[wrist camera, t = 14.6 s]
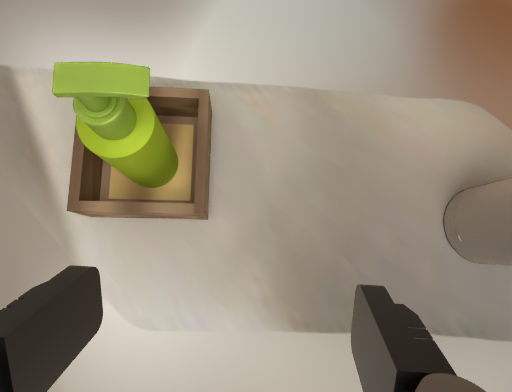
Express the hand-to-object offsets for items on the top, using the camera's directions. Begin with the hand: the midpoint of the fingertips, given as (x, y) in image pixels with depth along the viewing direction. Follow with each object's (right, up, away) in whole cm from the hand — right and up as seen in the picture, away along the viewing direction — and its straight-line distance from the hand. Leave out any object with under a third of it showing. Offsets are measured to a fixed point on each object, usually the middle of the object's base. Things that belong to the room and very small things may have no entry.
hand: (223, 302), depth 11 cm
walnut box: (-11, +7, +30) cm, 32 cm away
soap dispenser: (-10, +7, +29) cm, 32 cm away
